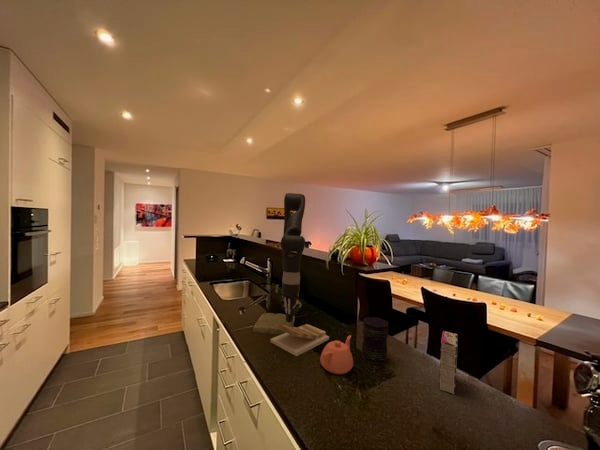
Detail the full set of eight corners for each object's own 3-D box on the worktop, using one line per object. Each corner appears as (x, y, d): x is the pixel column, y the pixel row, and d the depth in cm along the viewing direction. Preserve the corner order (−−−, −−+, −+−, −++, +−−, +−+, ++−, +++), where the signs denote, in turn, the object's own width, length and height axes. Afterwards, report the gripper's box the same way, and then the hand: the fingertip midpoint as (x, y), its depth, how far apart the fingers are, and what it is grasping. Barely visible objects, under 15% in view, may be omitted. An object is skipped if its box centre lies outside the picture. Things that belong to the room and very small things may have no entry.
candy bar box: (439, 373, 96) (442, 330, 95) (455, 378, 93) (458, 333, 93) (437, 389, 86) (440, 341, 86) (455, 395, 83) (458, 345, 83)
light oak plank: (306, 326, 128) (306, 323, 128) (325, 334, 120) (325, 331, 120) (297, 330, 124) (297, 327, 124) (316, 339, 115) (317, 335, 115)
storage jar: (369, 349, 112) (371, 315, 112) (391, 358, 105) (392, 322, 105) (356, 356, 105) (358, 320, 105) (378, 367, 98) (381, 328, 98)
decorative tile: (252, 333, 123) (252, 325, 123) (262, 317, 143) (263, 311, 143) (290, 336, 121) (291, 329, 121) (295, 320, 141) (296, 314, 141)
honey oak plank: (296, 330, 123) (297, 327, 123) (315, 339, 115) (316, 336, 115) (275, 327, 113) (276, 323, 113) (294, 336, 104) (295, 332, 105)
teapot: (310, 368, 95) (311, 342, 95) (337, 351, 109) (338, 329, 108) (337, 383, 87) (338, 355, 87) (363, 363, 100) (364, 339, 100)
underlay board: (303, 328, 130) (303, 325, 130) (329, 339, 119) (329, 336, 119) (270, 342, 114) (270, 338, 114) (296, 356, 103) (296, 352, 103)
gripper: (308, 283, 108) (306, 324, 108) (286, 277, 117) (284, 315, 117) (296, 286, 103) (294, 329, 103) (274, 280, 112) (272, 319, 112)
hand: (289, 321), depth 110 cm, fingers closed
